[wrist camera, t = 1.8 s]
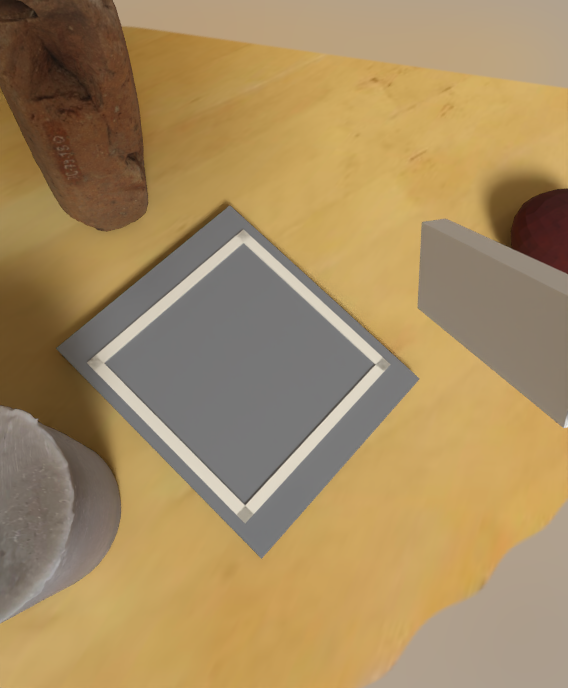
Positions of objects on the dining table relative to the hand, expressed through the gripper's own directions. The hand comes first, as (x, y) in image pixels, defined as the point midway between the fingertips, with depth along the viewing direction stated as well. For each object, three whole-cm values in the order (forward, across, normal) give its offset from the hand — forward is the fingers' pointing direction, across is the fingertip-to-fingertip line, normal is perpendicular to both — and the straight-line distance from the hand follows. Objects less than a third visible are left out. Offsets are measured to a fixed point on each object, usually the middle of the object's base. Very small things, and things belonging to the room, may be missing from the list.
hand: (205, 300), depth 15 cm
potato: (+24, +31, -10) cm, 40 cm away
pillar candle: (+15, -11, -19) cm, 27 cm away
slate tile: (+20, +3, -14) cm, 24 cm away
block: (+32, -5, -2) cm, 33 cm away
